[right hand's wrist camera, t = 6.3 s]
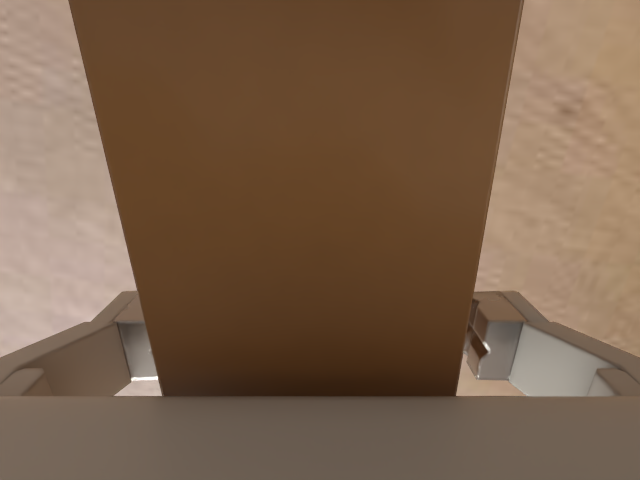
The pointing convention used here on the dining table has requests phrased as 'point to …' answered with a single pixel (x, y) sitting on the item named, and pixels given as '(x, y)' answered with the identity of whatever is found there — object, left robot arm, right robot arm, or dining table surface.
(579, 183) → the dining table surface
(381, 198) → the bar
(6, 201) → the dining table surface
